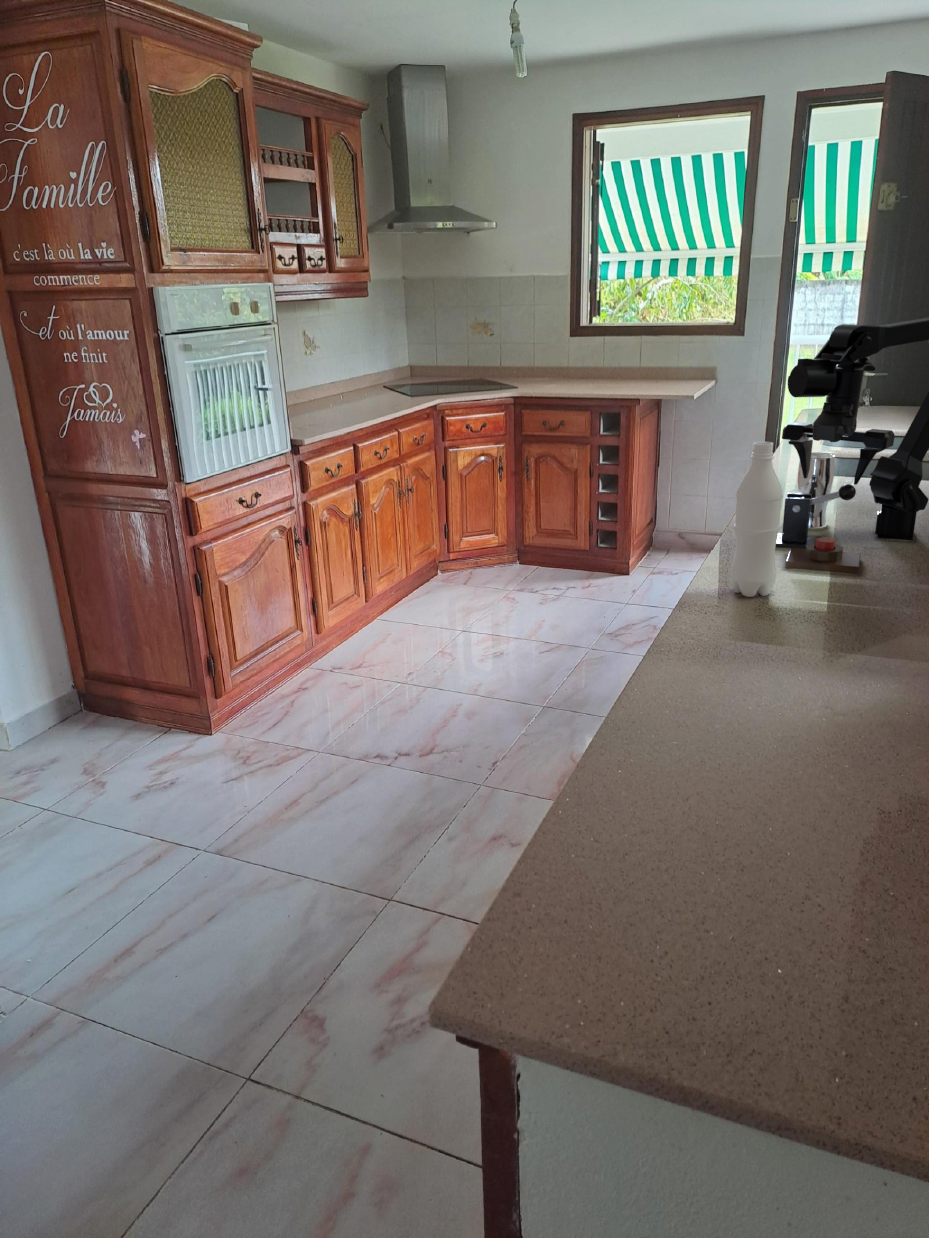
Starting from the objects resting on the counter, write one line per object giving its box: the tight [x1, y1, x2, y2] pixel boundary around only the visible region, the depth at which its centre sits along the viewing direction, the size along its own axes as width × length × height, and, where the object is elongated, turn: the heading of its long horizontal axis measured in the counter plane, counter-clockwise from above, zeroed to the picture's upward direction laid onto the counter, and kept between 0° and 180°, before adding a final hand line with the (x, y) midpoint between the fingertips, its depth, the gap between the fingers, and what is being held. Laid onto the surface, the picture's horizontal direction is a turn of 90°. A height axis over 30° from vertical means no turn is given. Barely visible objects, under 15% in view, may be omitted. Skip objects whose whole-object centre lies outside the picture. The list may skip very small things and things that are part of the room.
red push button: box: [815, 537, 836, 550], centre depth 158 cm, size 3×3×2 cm
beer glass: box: [796, 451, 836, 530], centre depth 182 cm, size 7×7×15 cm
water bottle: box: [730, 441, 784, 598], centre depth 144 cm, size 7×7×25 cm
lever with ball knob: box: [799, 483, 857, 505], centre depth 168 cm, size 12×3×3 cm, turn 66°
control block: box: [785, 543, 861, 574], centre depth 159 cm, size 12×9×4 cm
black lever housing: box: [775, 492, 827, 549], centre depth 171 cm, size 11×8×10 cm
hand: (830, 481), depth 166 cm, fingers open, 9 cm apart
